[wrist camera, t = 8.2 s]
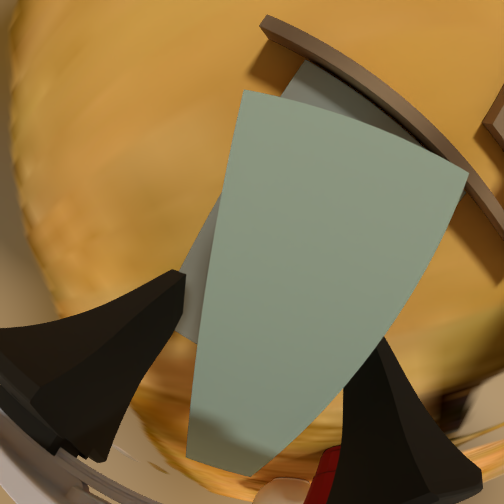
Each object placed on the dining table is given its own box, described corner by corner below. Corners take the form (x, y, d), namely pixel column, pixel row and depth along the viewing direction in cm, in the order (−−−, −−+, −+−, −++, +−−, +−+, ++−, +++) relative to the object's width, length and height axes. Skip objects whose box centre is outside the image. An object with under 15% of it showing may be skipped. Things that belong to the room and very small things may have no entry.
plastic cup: (327, 427, 21) (310, 542, 11) (411, 438, 21) (411, 534, 10) (285, 457, 27) (264, 539, 17) (358, 468, 26) (349, 543, 16)
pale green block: (370, 131, 10) (469, 172, 3) (279, 361, 17) (250, 476, 10) (294, 107, 10) (243, 89, 3) (230, 346, 17) (185, 457, 10)
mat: (458, 187, 10) (465, 192, 9) (270, 374, 19) (268, 383, 18) (306, 63, 10) (305, 59, 9) (161, 310, 18) (155, 318, 17)
